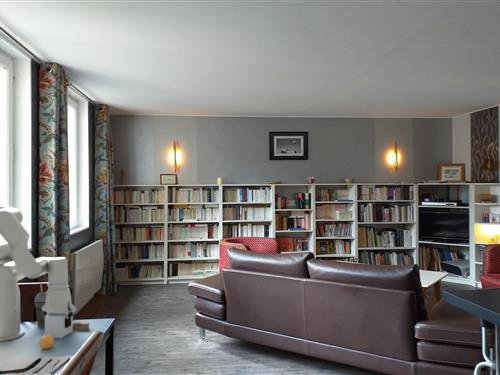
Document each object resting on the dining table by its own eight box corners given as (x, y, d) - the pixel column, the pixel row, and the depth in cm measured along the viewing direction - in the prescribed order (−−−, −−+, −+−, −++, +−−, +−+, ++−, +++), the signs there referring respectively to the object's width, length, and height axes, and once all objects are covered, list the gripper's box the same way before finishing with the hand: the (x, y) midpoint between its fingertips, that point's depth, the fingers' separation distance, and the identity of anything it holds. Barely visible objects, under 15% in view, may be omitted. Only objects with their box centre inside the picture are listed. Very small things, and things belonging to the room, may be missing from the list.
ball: (36, 350, 149) (36, 337, 149) (45, 345, 154) (45, 332, 154) (47, 351, 148) (47, 338, 148) (56, 346, 153) (56, 333, 153)
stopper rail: (66, 329, 171) (66, 322, 171) (69, 327, 173) (69, 321, 173) (86, 330, 169) (86, 324, 169) (89, 329, 171) (89, 322, 171)
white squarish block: (44, 336, 163) (44, 316, 163) (57, 330, 170) (57, 310, 170) (60, 338, 161) (60, 317, 161) (72, 331, 169) (72, 311, 169)
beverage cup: (44, 328, 172) (44, 284, 172) (30, 327, 174) (30, 283, 174) (55, 323, 179) (55, 280, 179) (42, 322, 181) (42, 280, 181)
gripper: (34, 287, 164) (35, 328, 164) (70, 288, 160) (71, 330, 160) (47, 283, 171) (48, 322, 171) (81, 284, 168) (82, 324, 168)
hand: (59, 326), depth 166 cm, fingers closed on white squarish block, 7 cm apart
